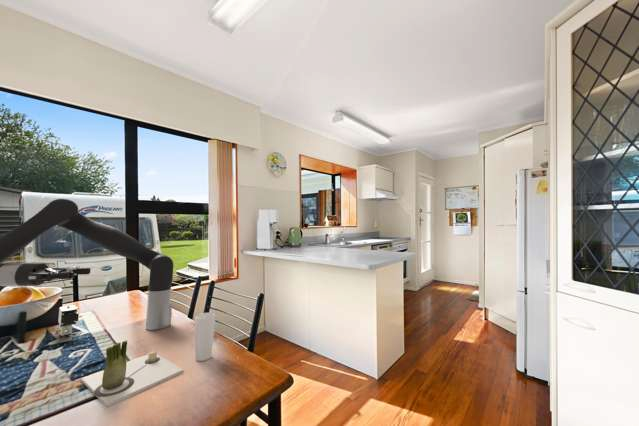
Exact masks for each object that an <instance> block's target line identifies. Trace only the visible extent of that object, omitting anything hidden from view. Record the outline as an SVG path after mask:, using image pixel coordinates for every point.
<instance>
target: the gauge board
mask: <svg viewBox="0 0 639 426" xmlns="http://www.w3.org/2000/svg"><path fill="white" fill-rule="evenodd" d="M103 373H104V369H103V370H100V371H97V372H95V373H92V374H90V375H87V376H84V377H81V379H80V382H81V383H82V384H83V385H84V386H86V388H87V389H88V390H89V391H91V393H92V394H93V395H94V396H95V397H96V398H97V399H98V400H99V401H101V403H102V405H104V406H105V407H106V408H108V407H111V406H112V405H115V404H117V403H119V402H121V401H123V400H125V399H128V398H130V397H133V396H134V395H136V394H138V393H141V392H142V391H145V390H148V389H149V388H151V387H154V386H156V385H159V384H160V383H162V382H165V381H167V380H169V379H172V378H173V377H176V376H178V375H180V374H183V373H184V369H183V368H182V367H180V366H178V365H176V364H174V363H173V362H171V361H169V360H168V359H166V358H164V357H162V356H160V355H159V354H158V352H157V351H156V350H154V351H150V352H148V354H145V355H143V356H140V357H136V358H134V359H131V360H128V361H126V376H125V380H124V382H123V384H122V385H120V386H118V387H116V388H113V389H110V390H106V389H103V387H102V379H103Z"/></svg>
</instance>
